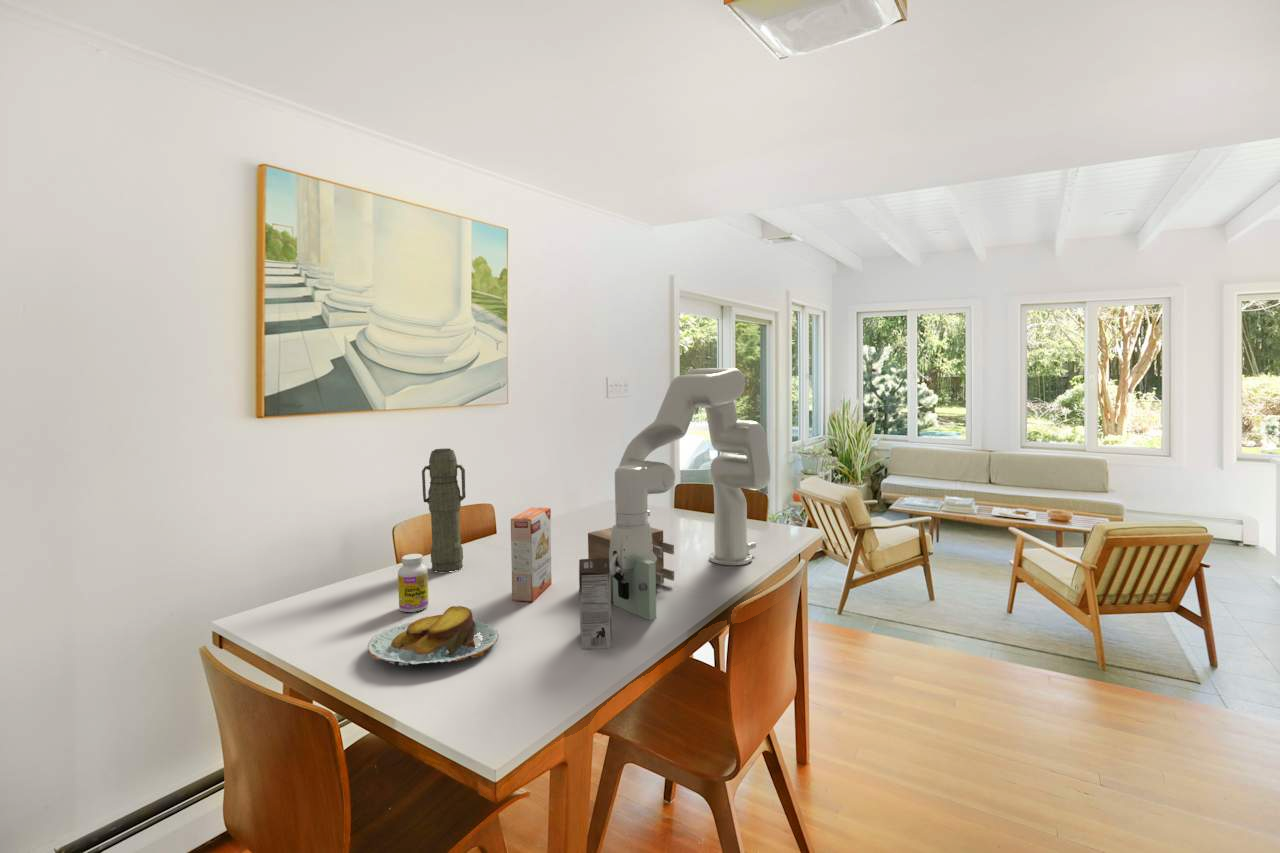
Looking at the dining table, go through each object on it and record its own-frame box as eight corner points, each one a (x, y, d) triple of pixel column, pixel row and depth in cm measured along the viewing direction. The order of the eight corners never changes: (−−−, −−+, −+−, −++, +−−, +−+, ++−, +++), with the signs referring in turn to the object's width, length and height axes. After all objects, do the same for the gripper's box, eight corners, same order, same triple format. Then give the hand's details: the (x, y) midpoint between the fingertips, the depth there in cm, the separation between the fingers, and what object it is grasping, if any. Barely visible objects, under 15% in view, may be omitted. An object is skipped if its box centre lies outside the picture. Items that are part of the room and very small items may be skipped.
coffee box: (580, 631, 133) (579, 558, 131) (610, 629, 133) (609, 557, 132) (580, 649, 124) (578, 571, 122) (612, 648, 124) (610, 570, 123)
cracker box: (534, 603, 150) (531, 519, 148) (511, 601, 151) (508, 518, 150) (553, 584, 164) (551, 506, 162) (532, 582, 165) (530, 506, 163)
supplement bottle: (401, 615, 143) (398, 562, 142) (397, 606, 149) (395, 555, 148) (430, 610, 146) (428, 557, 145) (426, 601, 152) (424, 551, 151)
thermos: (470, 570, 177) (465, 449, 174) (427, 575, 173) (421, 452, 170) (467, 561, 185) (462, 446, 182) (425, 566, 181) (420, 449, 178)
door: (615, 600, 151) (614, 548, 150) (656, 617, 140) (656, 561, 139) (604, 603, 149) (603, 551, 148) (645, 621, 137) (644, 565, 136)
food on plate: (362, 641, 130) (360, 611, 130) (478, 616, 143) (477, 589, 142) (379, 692, 108) (377, 656, 108) (514, 658, 121) (513, 626, 121)
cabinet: (635, 571, 173) (634, 522, 172) (674, 585, 161) (674, 533, 160) (589, 584, 163) (587, 532, 162) (627, 600, 150) (626, 544, 149)
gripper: (648, 510, 151) (649, 583, 152) (592, 522, 140) (594, 599, 141) (669, 515, 145) (670, 590, 146) (612, 527, 134) (614, 608, 135)
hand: (632, 594), depth 144 cm, fingers open, 4 cm apart
